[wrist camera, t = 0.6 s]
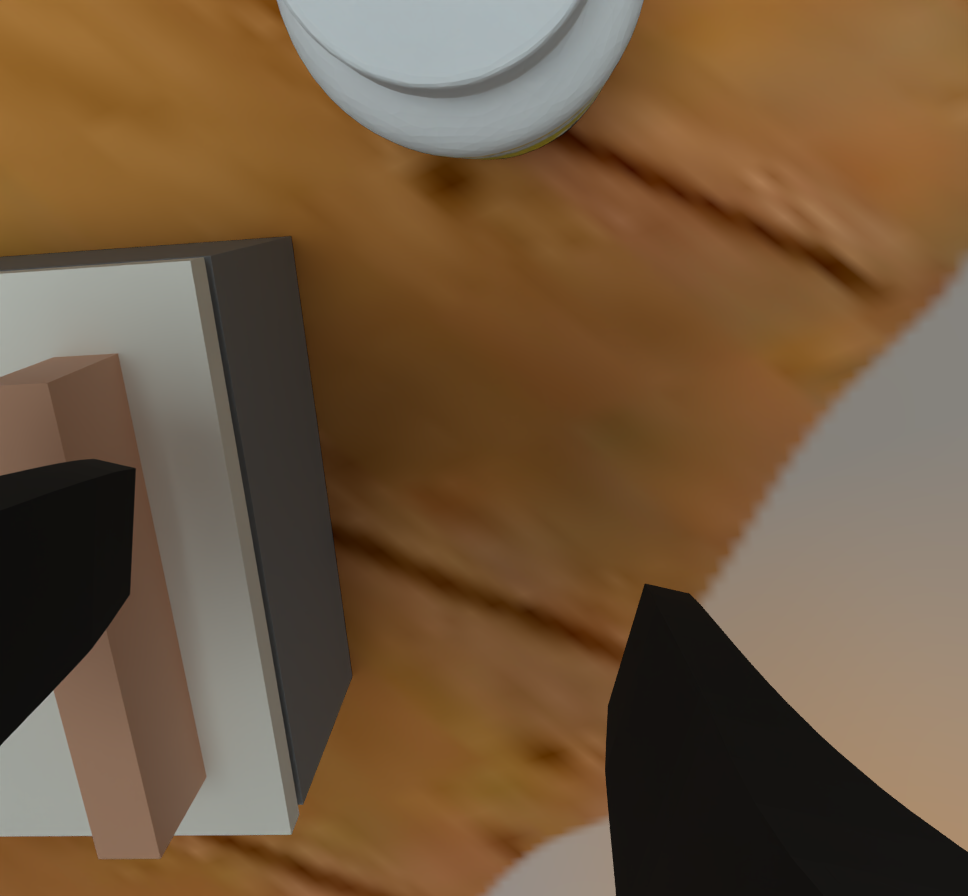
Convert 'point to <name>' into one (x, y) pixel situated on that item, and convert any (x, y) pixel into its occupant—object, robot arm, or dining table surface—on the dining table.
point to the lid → (145, 570)
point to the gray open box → (270, 470)
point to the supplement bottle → (462, 66)
